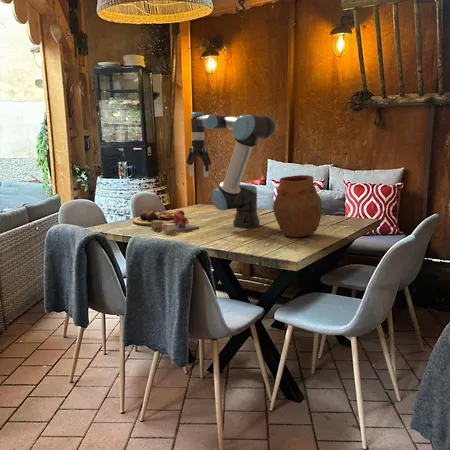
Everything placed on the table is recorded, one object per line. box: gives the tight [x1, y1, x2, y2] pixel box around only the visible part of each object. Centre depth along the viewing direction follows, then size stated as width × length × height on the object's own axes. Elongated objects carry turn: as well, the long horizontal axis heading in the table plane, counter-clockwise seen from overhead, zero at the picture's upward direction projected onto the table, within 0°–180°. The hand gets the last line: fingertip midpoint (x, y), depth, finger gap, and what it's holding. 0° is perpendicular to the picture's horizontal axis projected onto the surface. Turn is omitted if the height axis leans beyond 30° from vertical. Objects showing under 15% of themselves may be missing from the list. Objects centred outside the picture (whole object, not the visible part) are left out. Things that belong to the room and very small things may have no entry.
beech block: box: [161, 223, 177, 235], centre depth 227 cm, size 5×5×5 cm
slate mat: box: [176, 223, 200, 233], centre depth 239 cm, size 14×14×1 cm
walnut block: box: [150, 220, 163, 232], centre depth 235 cm, size 5×5×5 cm
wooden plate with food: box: [132, 208, 187, 227], centre depth 260 cm, size 32×32×8 cm
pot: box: [272, 174, 323, 238], centre depth 216 cm, size 24×24×30 cm
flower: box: [173, 211, 190, 227], centre depth 238 cm, size 10×9×8 cm
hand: (198, 176), depth 256 cm, fingers open, 13 cm apart
